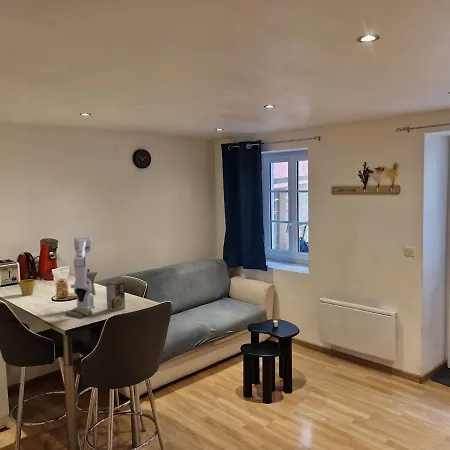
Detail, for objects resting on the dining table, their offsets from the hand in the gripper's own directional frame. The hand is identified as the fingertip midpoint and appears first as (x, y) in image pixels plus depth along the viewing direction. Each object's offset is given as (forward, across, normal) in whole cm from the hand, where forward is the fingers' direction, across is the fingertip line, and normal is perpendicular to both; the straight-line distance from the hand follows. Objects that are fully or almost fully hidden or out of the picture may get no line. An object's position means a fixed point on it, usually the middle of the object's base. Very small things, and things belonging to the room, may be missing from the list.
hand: (81, 301), depth 249 cm
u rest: (+8, -2, 0) cm, 8 cm away
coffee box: (+8, +7, +20) cm, 23 cm away
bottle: (+5, +5, 0) cm, 7 cm away
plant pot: (+8, -74, +18) cm, 76 cm away
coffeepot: (+8, -37, +38) cm, 53 cm away
